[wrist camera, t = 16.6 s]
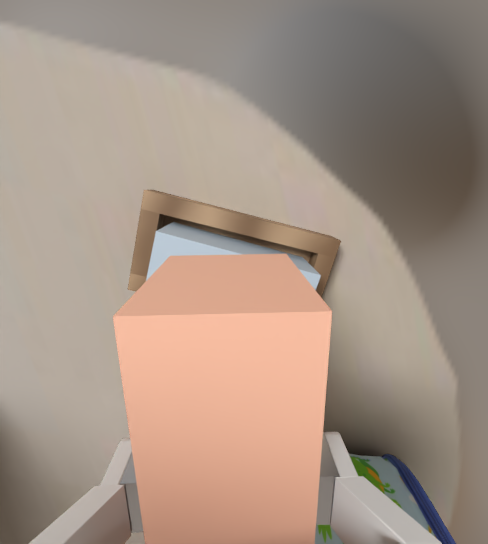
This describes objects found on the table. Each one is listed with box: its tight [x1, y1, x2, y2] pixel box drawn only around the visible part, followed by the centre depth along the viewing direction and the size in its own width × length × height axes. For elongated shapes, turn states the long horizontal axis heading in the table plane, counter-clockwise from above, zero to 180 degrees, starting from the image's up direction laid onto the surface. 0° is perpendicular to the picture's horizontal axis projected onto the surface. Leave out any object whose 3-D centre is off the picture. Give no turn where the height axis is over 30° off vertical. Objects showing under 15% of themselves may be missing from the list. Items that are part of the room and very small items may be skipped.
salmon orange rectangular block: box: [113, 254, 332, 544], centre depth 9 cm, size 12×4×5 cm, turn 1°
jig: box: [128, 190, 341, 298], centre depth 26 cm, size 16×8×3 cm, turn 76°
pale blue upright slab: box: [146, 222, 321, 290], centre depth 24 cm, size 12×4×6 cm, turn 74°
